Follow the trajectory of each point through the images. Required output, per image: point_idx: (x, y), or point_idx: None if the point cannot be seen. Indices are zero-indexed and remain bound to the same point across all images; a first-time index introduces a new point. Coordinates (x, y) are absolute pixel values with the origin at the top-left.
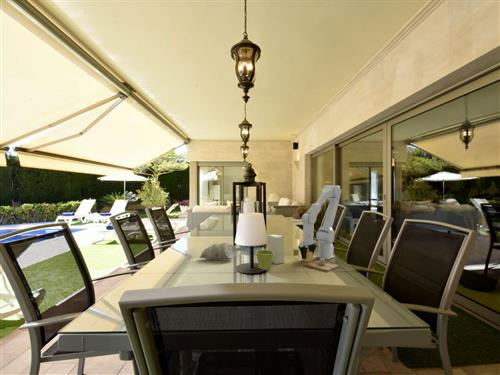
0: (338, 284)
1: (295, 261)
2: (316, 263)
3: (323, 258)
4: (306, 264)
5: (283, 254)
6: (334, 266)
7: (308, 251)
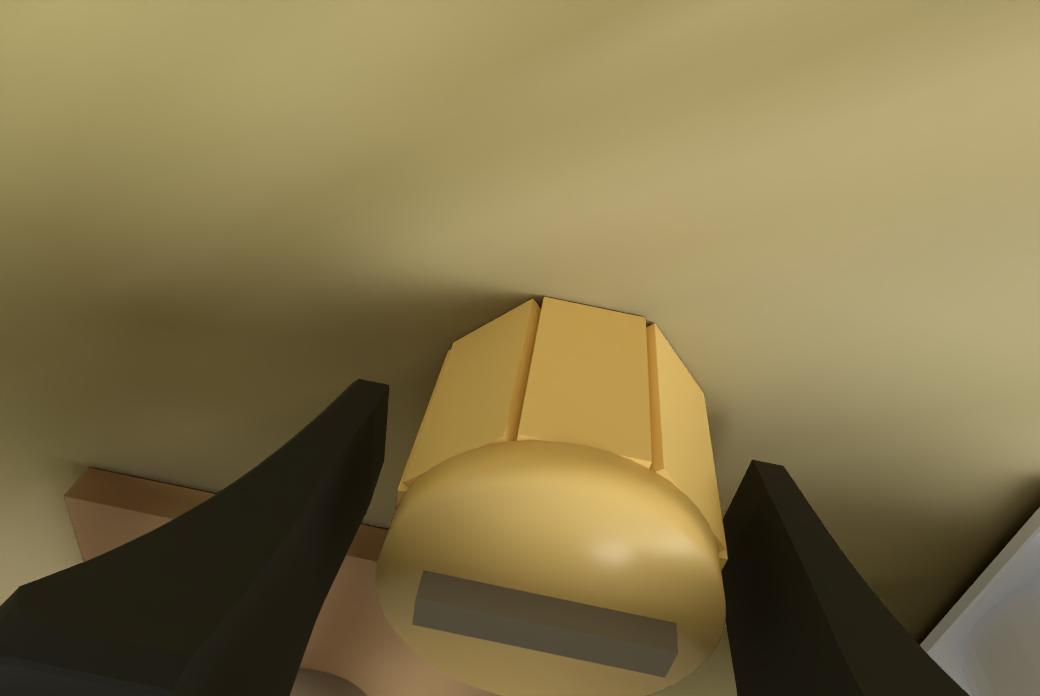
0: None
1: (232, 201)
2: (321, 639)
3: (927, 643)
4: (95, 536)
5: None
6: None
7: (554, 642)
